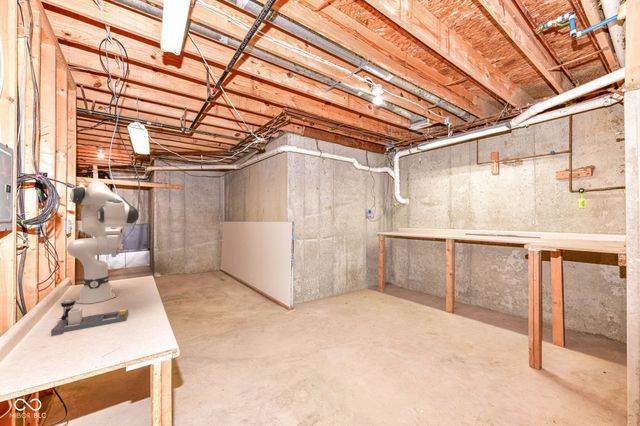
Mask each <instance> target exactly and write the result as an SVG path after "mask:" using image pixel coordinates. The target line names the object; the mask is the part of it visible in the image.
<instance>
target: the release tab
mask: <svg viewBox="0 0 640 426" xmlns="http://www.w3.org/2000/svg"><path fill="white" fill-rule="evenodd" d="M126 310H127V309H120V310H118V311H119V315H125V314H126Z"/></svg>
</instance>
